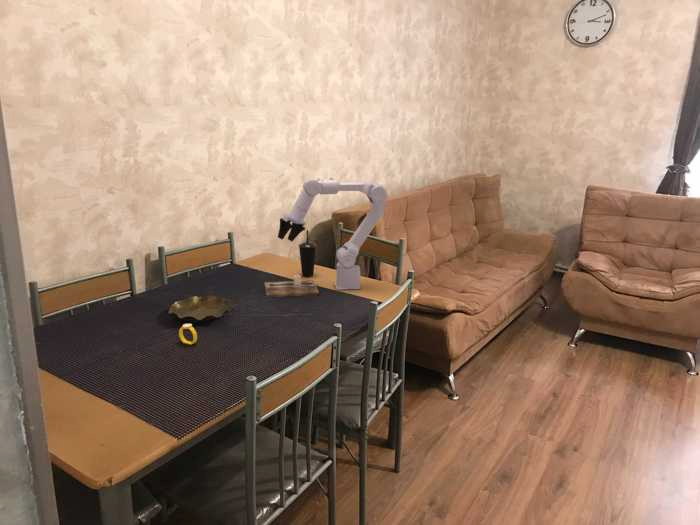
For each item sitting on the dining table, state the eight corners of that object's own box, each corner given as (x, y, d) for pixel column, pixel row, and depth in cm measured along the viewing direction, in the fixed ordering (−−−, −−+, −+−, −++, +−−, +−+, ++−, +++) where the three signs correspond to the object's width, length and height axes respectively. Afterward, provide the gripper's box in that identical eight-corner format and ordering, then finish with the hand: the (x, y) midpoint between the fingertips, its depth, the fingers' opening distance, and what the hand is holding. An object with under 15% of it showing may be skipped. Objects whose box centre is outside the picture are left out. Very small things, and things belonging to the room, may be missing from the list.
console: (313, 282, 228) (313, 277, 228) (319, 294, 213) (319, 289, 213) (264, 284, 224) (264, 279, 224) (266, 297, 209) (266, 291, 209)
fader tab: (300, 284, 221) (300, 274, 220) (301, 288, 217) (301, 277, 216) (293, 285, 220) (292, 274, 219) (294, 288, 217) (294, 277, 215)
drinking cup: (296, 274, 239) (295, 229, 234) (312, 272, 242) (312, 228, 237) (302, 279, 233) (302, 232, 227) (319, 277, 236) (319, 231, 230)
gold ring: (178, 344, 167) (175, 325, 166) (184, 340, 170) (182, 322, 168) (193, 346, 165) (191, 327, 163) (199, 343, 167) (197, 324, 166)
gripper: (302, 206, 219) (286, 236, 221) (283, 200, 206) (267, 232, 208) (315, 214, 216) (299, 244, 218) (297, 208, 203) (281, 241, 205)
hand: (285, 239), depth 213 cm, fingers open, 7 cm apart
